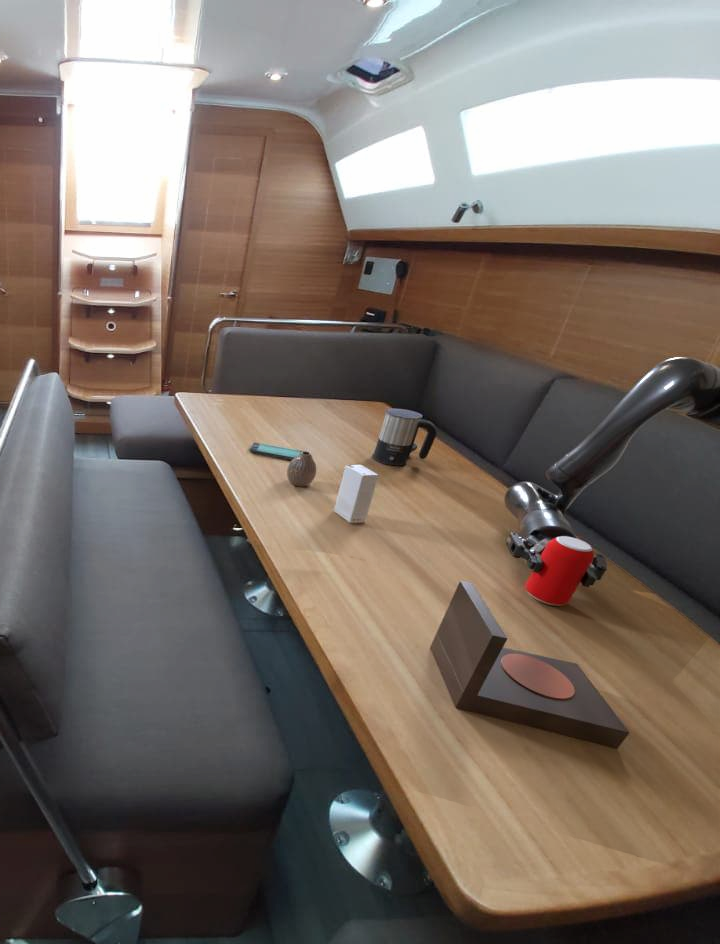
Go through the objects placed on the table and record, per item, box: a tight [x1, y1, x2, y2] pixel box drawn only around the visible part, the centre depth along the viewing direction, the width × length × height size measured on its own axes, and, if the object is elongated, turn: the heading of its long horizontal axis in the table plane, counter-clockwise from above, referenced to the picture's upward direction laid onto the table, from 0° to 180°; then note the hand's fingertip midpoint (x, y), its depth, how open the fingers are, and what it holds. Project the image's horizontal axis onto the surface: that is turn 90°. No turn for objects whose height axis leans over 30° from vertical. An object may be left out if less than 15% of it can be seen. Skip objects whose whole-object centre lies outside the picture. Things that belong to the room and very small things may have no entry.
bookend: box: [429, 580, 630, 749], centre depth 68 cm, size 18×12×13 cm, turn 72°
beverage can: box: [524, 536, 595, 607], centre depth 88 cm, size 6×6×12 cm
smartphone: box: [249, 442, 304, 461], centre depth 150 cm, size 7×1×15 cm
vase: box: [286, 450, 317, 488], centre depth 130 cm, size 7×7×9 cm
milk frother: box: [371, 408, 438, 467], centre depth 148 cm, size 14×16×15 cm
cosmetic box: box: [333, 464, 379, 524], centre depth 114 cm, size 6×4×12 cm
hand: (563, 575), depth 86 cm, fingers closed on beverage can, 6 cm apart
